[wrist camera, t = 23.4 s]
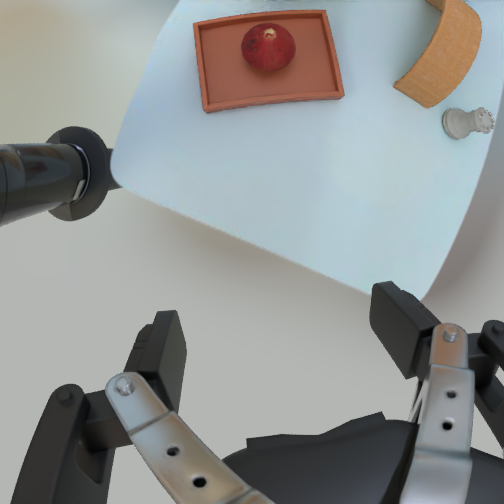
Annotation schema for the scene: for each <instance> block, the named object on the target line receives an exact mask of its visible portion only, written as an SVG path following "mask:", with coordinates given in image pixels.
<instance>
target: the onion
mask: <svg viewBox="0 0 504 504" xmlns="http://www.w3.org/2000/svg"><path fill="white" fill-rule="evenodd" d="M241 50H242V56H243V57H244V58H245V60H246V61H247V62H248V63H249V65H251V66H253V67H255V68H257V69H259V70H263V71H276V70H280V69H282V68H284V67H286V66H287V65H288V64H289V63H290V62H291V61H292V59H293V58H294V56H295V51H296V46H295V42H294V38H293V37H292V35H291V34H290V33H289V31H288V30H287V29H285V28H284V27H282V26H280V25H278V24H274V23H261V24H258V25H256V26H254V27H252V28H251V29H250V30H249V31H248V32H247V33H246V34H245V35H244V37H243V40H242V43H241Z"/></svg>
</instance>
